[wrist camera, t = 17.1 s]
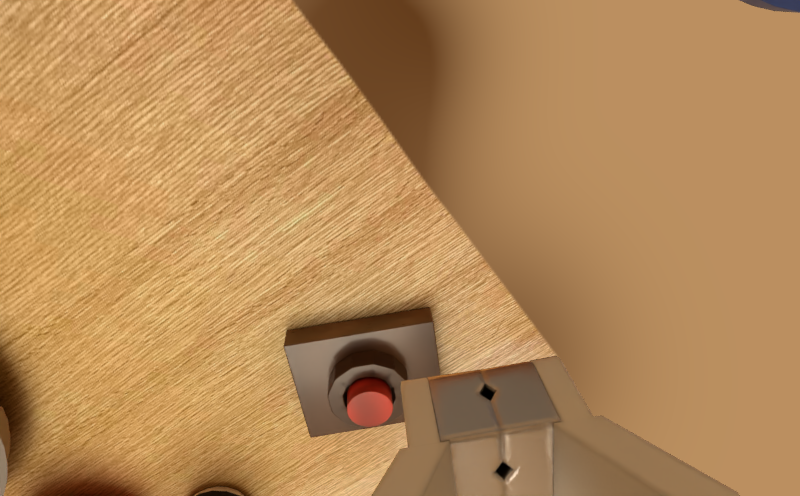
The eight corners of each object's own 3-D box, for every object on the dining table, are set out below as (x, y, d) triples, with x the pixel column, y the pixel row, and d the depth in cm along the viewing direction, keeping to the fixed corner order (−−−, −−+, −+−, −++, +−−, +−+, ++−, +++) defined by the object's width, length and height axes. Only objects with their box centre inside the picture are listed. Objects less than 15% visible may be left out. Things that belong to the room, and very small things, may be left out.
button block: (429, 306, 44) (436, 334, 40) (441, 398, 48) (449, 430, 45) (286, 330, 44) (280, 360, 40) (312, 419, 48) (309, 454, 44)
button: (388, 373, 42) (389, 388, 40) (394, 407, 43) (396, 423, 42) (343, 380, 42) (342, 395, 40) (351, 414, 43) (351, 430, 42)
